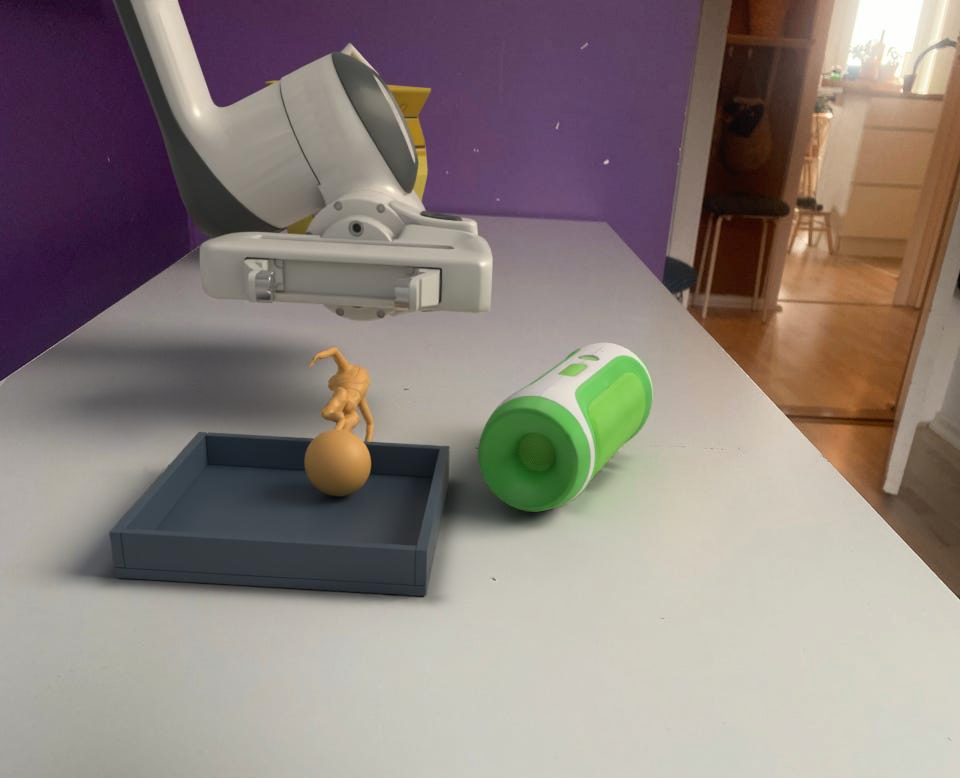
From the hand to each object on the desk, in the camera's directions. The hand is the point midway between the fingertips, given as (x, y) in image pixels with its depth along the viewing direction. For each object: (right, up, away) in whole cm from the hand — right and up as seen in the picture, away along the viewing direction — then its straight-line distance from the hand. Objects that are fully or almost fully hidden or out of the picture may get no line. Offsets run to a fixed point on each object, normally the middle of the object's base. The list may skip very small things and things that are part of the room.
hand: (332, 293), depth 66 cm
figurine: (+2, -12, -6) cm, 14 cm away
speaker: (+15, -11, +4) cm, 19 cm away
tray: (-1, -15, -6) cm, 17 cm away
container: (-7, +27, +69) cm, 75 cm away
